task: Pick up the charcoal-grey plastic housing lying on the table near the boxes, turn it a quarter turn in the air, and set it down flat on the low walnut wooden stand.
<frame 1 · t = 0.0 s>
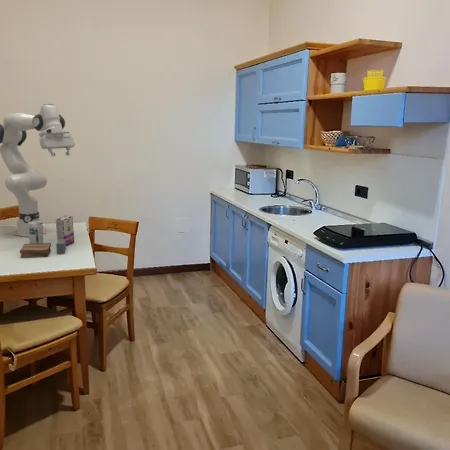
hand: (61, 155, 268), 52 cm above the table, tool tilted 20°, fingers open, 8 cm apart
candy bar box: (65, 244, 279), on the table
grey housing: (61, 251, 265), on the table
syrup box: (36, 246, 275), on the table
wooden stand: (36, 253, 260), on the table
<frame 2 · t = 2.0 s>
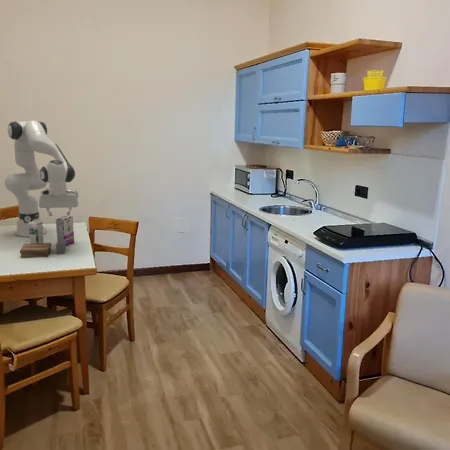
hand: (59, 215, 260), 21 cm above the table, tool pointing down, fingers open, 8 cm apart
nothing on the table moved.
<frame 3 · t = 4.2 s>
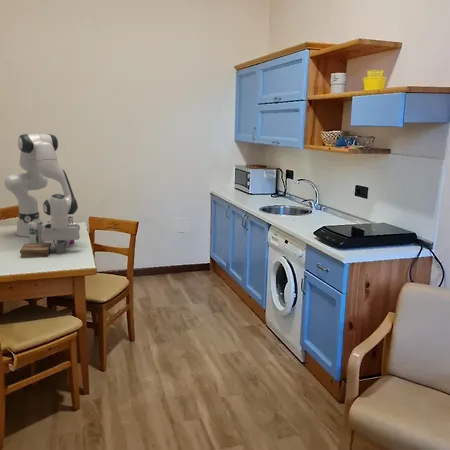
hand: (61, 247, 264), 2 cm above the table, tool pointing down, fingers closed on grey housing, 4 cm apart
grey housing: (61, 251, 265), on the table, touching gripper
everything else where it was.
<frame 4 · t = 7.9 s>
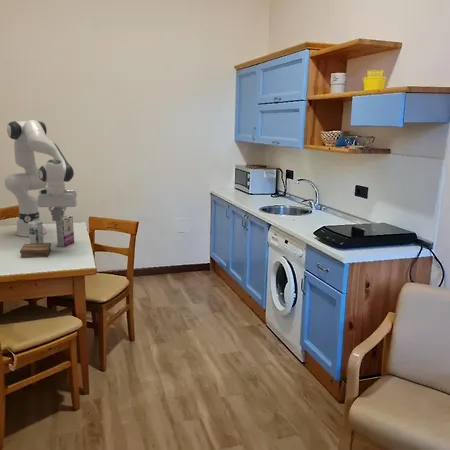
hand: (57, 215, 260), 21 cm above the table, tool pointing down, fingers closed on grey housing, 4 cm apart
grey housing: (58, 218, 260), point 19 cm above the table, touching gripper
everything else where it was.
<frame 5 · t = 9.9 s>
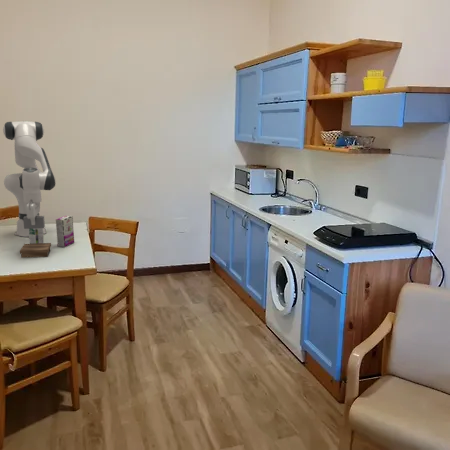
hand: (34, 223, 256), 17 cm above the table, tool pointing down, fingers closed on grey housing, 4 cm apart
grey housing: (34, 227, 257), point 15 cm above the table, touching gripper
everything else where it was.
when the fingers open (8 cm above the table, at t = 11.5 s): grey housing drops 1 cm, resting on wooden stand.
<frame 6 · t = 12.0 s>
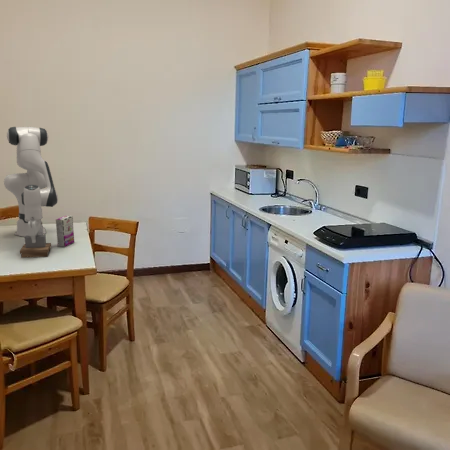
hand: (35, 240, 258), 8 cm above the table, tool pointing down, fingers open, 8 cm apart
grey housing: (35, 246, 259), point 4 cm above the table, touching wooden stand
everything else where it was.
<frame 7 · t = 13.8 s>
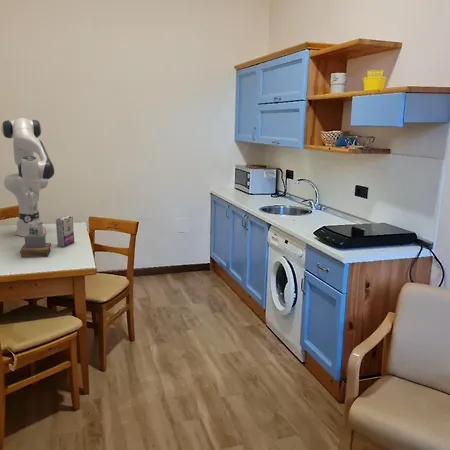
hand: (33, 212, 255), 23 cm above the table, tool pointing down, fingers open, 8 cm apart
nothing on the table moved.
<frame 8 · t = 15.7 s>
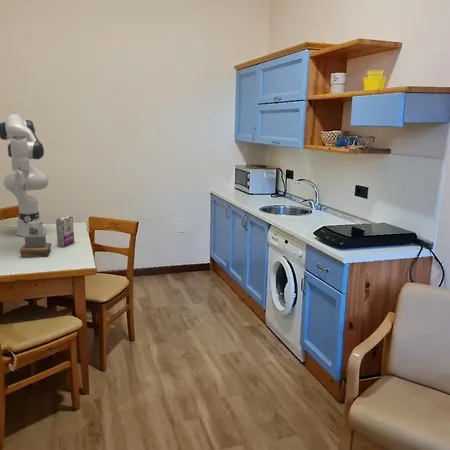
hand: (22, 191, 259), 33 cm above the table, tool pointing down, fingers open, 8 cm apart
nothing on the table moved.
at the end: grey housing inside the target area on the wooden stand (0.1 cm from its centre), point 4.0 cm above the wooden stand's base; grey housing tilted 0°; the gripper is holding nothing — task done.
